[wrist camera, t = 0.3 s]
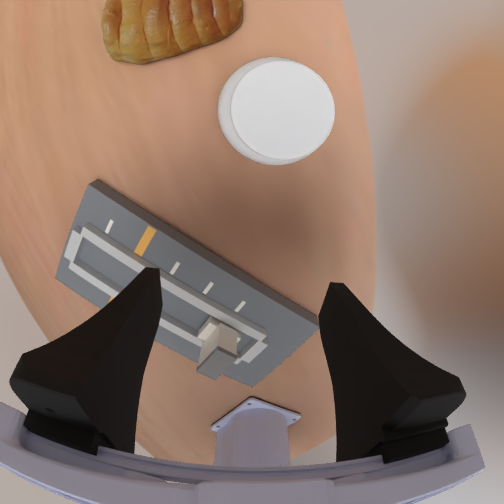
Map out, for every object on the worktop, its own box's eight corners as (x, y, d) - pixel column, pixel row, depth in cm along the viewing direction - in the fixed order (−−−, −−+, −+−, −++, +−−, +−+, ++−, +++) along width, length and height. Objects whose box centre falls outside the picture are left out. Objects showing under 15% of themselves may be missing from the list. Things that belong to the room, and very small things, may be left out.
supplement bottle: (274, 164, 20) (295, 206, 12) (211, 121, 19) (179, 127, 10) (320, 106, 19) (377, 103, 10) (257, 60, 17) (264, 17, 8)
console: (252, 375, 30) (252, 393, 28) (63, 269, 24) (50, 282, 22) (316, 316, 26) (321, 333, 24) (98, 179, 20) (83, 187, 18)
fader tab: (224, 348, 26) (222, 383, 22) (195, 333, 25) (188, 367, 21) (245, 327, 24) (244, 362, 21) (214, 311, 24) (209, 345, 20)
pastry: (242, -21, 14) (242, -44, 11) (243, 56, 17) (243, 45, 14) (119, -3, 14) (98, -18, 11) (116, 72, 17) (92, 67, 14)
